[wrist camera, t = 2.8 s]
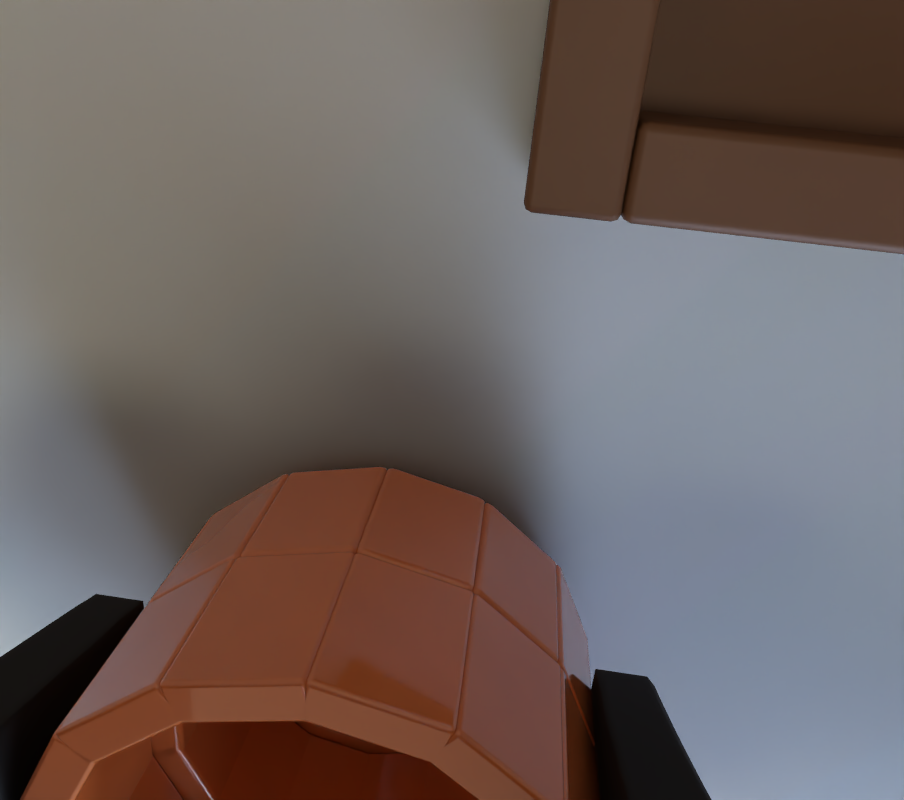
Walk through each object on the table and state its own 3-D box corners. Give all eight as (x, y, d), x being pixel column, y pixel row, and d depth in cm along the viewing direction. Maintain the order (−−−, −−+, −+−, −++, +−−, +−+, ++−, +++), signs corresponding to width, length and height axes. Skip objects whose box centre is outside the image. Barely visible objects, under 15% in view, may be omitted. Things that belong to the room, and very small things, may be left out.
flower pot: (615, 473, 9) (661, 737, 6) (549, 788, 12) (552, 1115, 8) (184, 415, 10) (-32, 630, 6) (203, 733, 12) (57, 1023, 8)
